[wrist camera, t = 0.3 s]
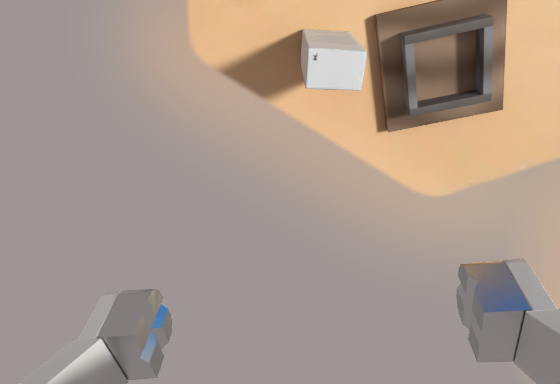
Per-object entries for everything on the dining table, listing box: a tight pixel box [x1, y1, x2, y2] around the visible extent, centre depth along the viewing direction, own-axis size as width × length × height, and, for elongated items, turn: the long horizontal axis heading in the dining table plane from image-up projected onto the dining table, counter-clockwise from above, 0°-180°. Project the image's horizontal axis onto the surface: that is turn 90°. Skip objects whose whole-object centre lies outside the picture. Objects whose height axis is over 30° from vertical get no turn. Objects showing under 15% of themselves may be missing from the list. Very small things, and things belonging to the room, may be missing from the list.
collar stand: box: [375, 0, 507, 132], centre depth 52 cm, size 15×15×4 cm
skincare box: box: [300, 29, 367, 91], centre depth 48 cm, size 6×4×12 cm
